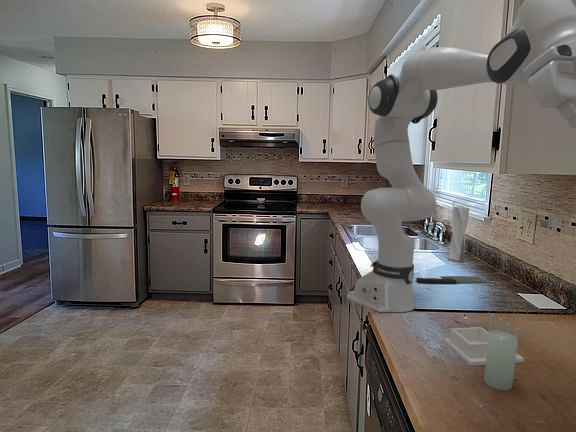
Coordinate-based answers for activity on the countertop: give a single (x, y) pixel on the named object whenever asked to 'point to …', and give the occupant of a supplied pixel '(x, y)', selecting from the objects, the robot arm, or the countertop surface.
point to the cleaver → (451, 280)
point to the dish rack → (475, 342)
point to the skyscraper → (458, 233)
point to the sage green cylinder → (500, 360)
